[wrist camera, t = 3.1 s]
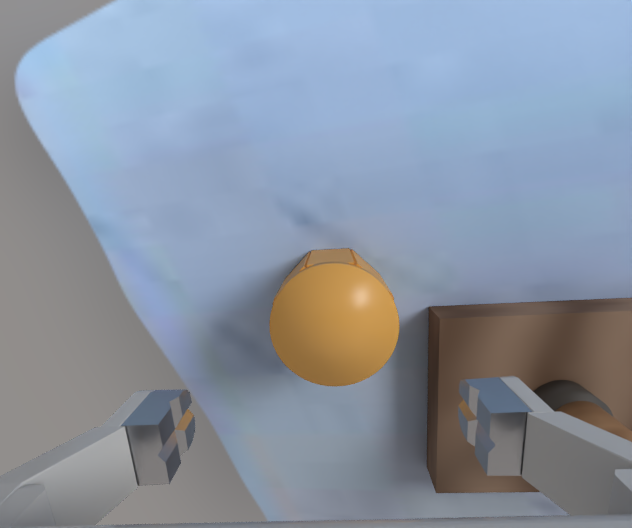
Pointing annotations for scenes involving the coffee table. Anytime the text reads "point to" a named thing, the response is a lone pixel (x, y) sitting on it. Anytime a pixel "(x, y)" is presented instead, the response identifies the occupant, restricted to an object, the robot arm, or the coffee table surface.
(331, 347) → the domed octagonal prism
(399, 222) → the coffee table surface
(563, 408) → the wooden peg stand
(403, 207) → the coffee table surface
